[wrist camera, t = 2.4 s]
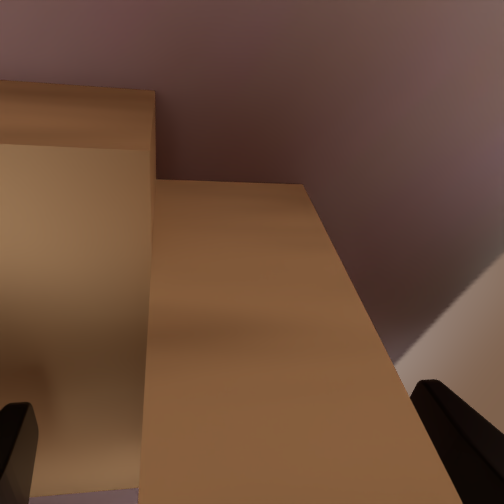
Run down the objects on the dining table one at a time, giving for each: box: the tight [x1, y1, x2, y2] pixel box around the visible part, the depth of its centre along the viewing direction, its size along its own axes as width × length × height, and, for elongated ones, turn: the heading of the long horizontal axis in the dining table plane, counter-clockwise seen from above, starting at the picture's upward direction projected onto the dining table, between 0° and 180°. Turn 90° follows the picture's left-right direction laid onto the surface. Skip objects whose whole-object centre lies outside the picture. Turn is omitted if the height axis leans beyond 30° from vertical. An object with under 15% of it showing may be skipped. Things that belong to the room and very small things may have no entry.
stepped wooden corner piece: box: [0, 80, 463, 504], centre depth 8 cm, size 10×8×9 cm
